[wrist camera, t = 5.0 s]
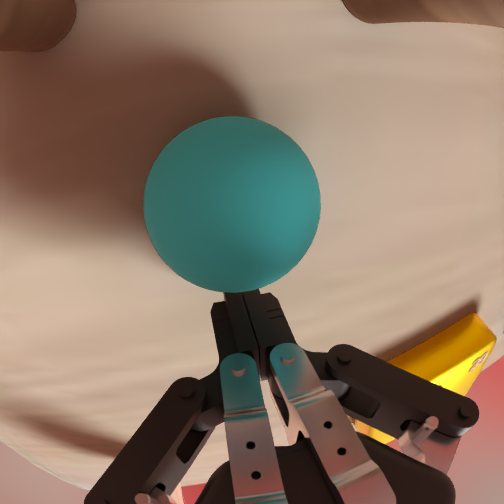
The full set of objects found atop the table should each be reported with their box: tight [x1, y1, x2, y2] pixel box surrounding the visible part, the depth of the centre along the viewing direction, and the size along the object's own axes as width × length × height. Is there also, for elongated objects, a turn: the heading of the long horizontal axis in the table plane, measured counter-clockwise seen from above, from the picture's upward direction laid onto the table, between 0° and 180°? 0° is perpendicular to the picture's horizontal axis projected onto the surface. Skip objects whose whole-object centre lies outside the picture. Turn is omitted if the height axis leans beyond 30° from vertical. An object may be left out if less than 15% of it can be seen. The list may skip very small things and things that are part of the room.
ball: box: [143, 116, 321, 293], centre depth 10 cm, size 6×6×6 cm
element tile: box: [355, 313, 497, 444], centre depth 27 cm, size 15×15×5 cm
